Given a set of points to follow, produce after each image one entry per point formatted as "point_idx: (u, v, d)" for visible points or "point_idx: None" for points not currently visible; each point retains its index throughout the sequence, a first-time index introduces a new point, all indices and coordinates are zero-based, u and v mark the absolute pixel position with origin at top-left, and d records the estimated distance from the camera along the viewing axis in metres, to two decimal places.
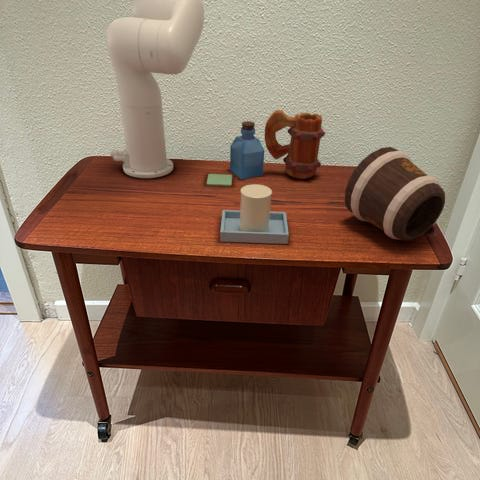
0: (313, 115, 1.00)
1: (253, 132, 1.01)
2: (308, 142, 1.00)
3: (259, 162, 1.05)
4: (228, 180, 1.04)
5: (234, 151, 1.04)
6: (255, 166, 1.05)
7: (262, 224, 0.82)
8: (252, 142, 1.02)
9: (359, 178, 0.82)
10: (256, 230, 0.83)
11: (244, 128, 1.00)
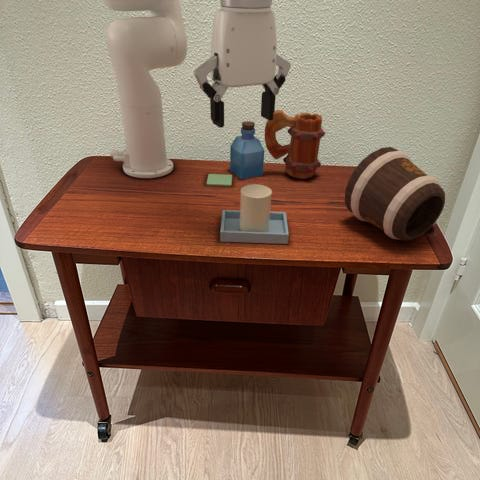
0: (313, 115, 1.00)
1: (253, 132, 1.01)
2: (308, 142, 1.00)
3: (259, 162, 1.05)
4: (228, 180, 1.04)
5: (234, 151, 1.04)
6: (255, 166, 1.05)
7: (262, 224, 0.82)
8: (252, 142, 1.02)
9: (359, 178, 0.82)
10: (256, 230, 0.83)
11: (244, 128, 1.00)
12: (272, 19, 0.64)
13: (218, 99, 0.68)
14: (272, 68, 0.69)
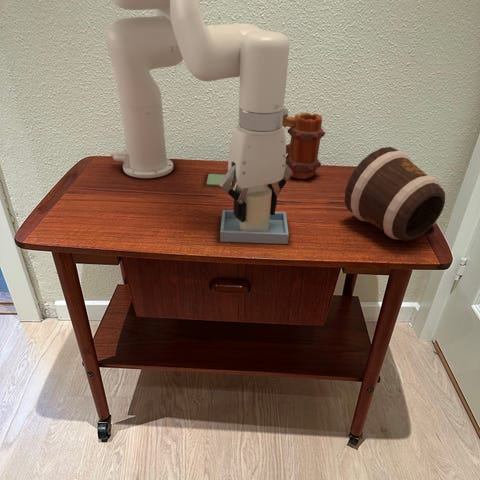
0: (313, 115, 1.00)
1: None
2: (308, 142, 1.00)
3: None
4: None
5: None
6: None
7: (262, 224, 0.82)
8: None
9: (359, 178, 0.82)
10: (256, 230, 0.83)
11: None
12: (282, 134, 0.74)
13: (241, 201, 0.79)
14: (282, 171, 0.78)
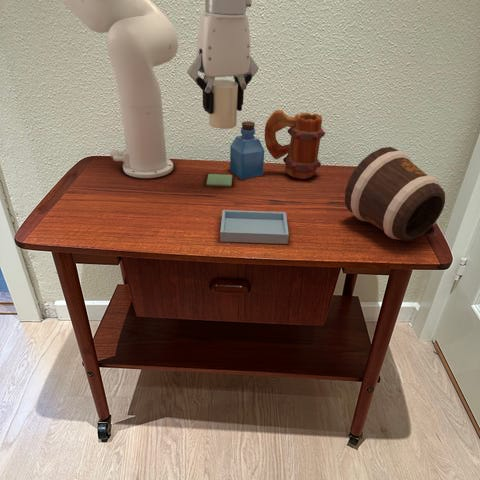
0: (313, 115, 1.00)
1: (253, 132, 1.01)
2: (308, 142, 1.00)
3: (259, 162, 1.05)
4: (228, 180, 1.04)
5: (234, 151, 1.04)
6: (255, 165, 1.05)
7: (229, 117, 0.89)
8: (252, 142, 1.02)
9: (359, 178, 0.82)
10: (223, 123, 0.89)
11: (244, 128, 1.00)
12: (246, 23, 0.80)
13: (208, 91, 0.85)
14: (246, 63, 0.85)
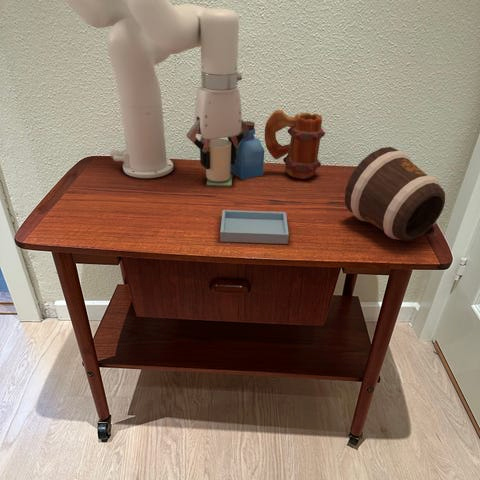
0: (313, 115, 1.00)
1: (253, 132, 1.01)
2: (308, 142, 1.00)
3: (259, 162, 1.05)
4: (228, 180, 1.04)
5: None
6: (255, 166, 1.05)
7: (224, 171, 1.00)
8: (252, 142, 1.02)
9: (359, 178, 0.82)
10: (219, 176, 1.01)
11: None
12: (237, 94, 0.91)
13: (205, 150, 0.97)
14: (238, 126, 0.96)
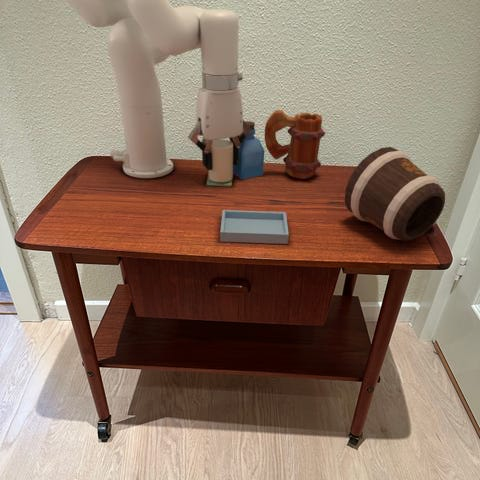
0: (313, 115, 1.00)
1: (253, 132, 1.01)
2: (308, 142, 1.00)
3: (259, 162, 1.05)
4: None
5: None
6: (255, 166, 1.05)
7: (226, 172, 1.00)
8: (252, 143, 1.02)
9: (359, 178, 0.82)
10: (221, 177, 1.01)
11: None
12: (238, 94, 0.91)
13: (207, 151, 0.97)
14: (240, 126, 0.96)
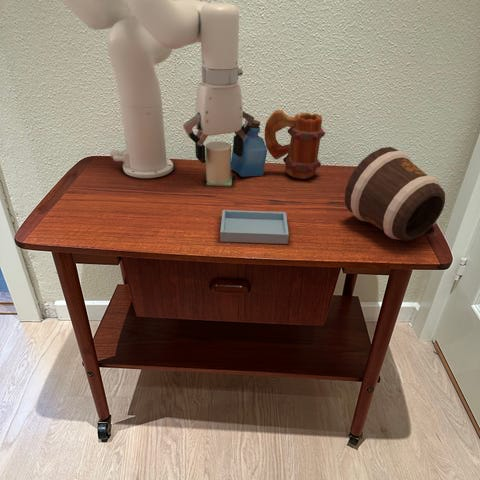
0: (313, 115, 1.00)
1: (258, 130, 1.01)
2: (308, 142, 1.00)
3: (261, 161, 1.05)
4: None
5: None
6: (256, 164, 1.05)
7: (224, 174, 1.01)
8: (256, 141, 1.02)
9: (359, 178, 0.82)
10: (219, 179, 1.01)
11: None
12: (238, 89, 0.91)
13: (201, 144, 0.95)
14: (240, 121, 0.95)
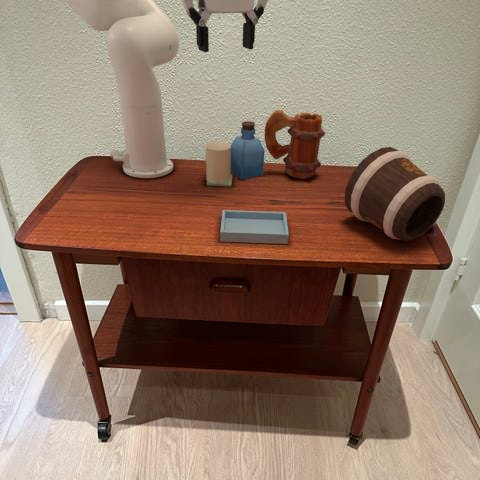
0: (313, 115, 1.00)
1: (253, 132, 1.01)
2: (308, 142, 1.00)
3: (260, 162, 1.05)
4: None
5: (234, 151, 1.04)
6: (255, 166, 1.05)
7: (224, 174, 1.01)
8: (253, 142, 1.02)
9: (359, 178, 0.82)
10: (219, 179, 1.01)
11: (244, 128, 1.00)
12: None
13: (203, 24, 0.77)
14: None
